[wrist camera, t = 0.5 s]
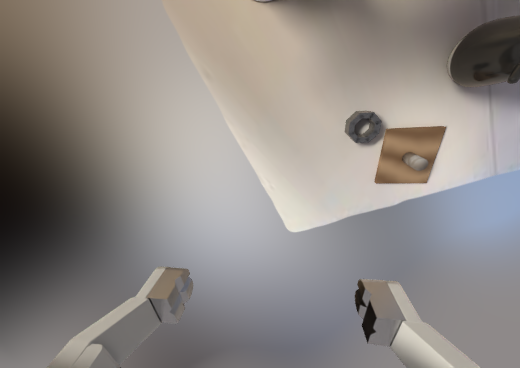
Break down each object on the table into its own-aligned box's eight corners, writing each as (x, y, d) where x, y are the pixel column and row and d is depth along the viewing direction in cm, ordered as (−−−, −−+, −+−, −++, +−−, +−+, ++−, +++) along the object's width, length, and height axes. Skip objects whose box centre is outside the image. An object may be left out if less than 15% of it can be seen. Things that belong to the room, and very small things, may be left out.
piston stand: (386, 128, 45) (399, 134, 40) (442, 126, 44) (464, 131, 38) (374, 181, 52) (384, 192, 46) (423, 181, 50) (440, 192, 45)
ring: (347, 111, 45) (351, 113, 42) (377, 110, 44) (383, 111, 41) (343, 140, 48) (347, 143, 45) (372, 138, 47) (377, 142, 44)
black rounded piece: (423, 69, 39) (495, 60, 26) (474, 13, 35) (593, -34, 21) (458, 98, 41) (542, 103, 27) (511, 47, 36) (644, 23, 23)
